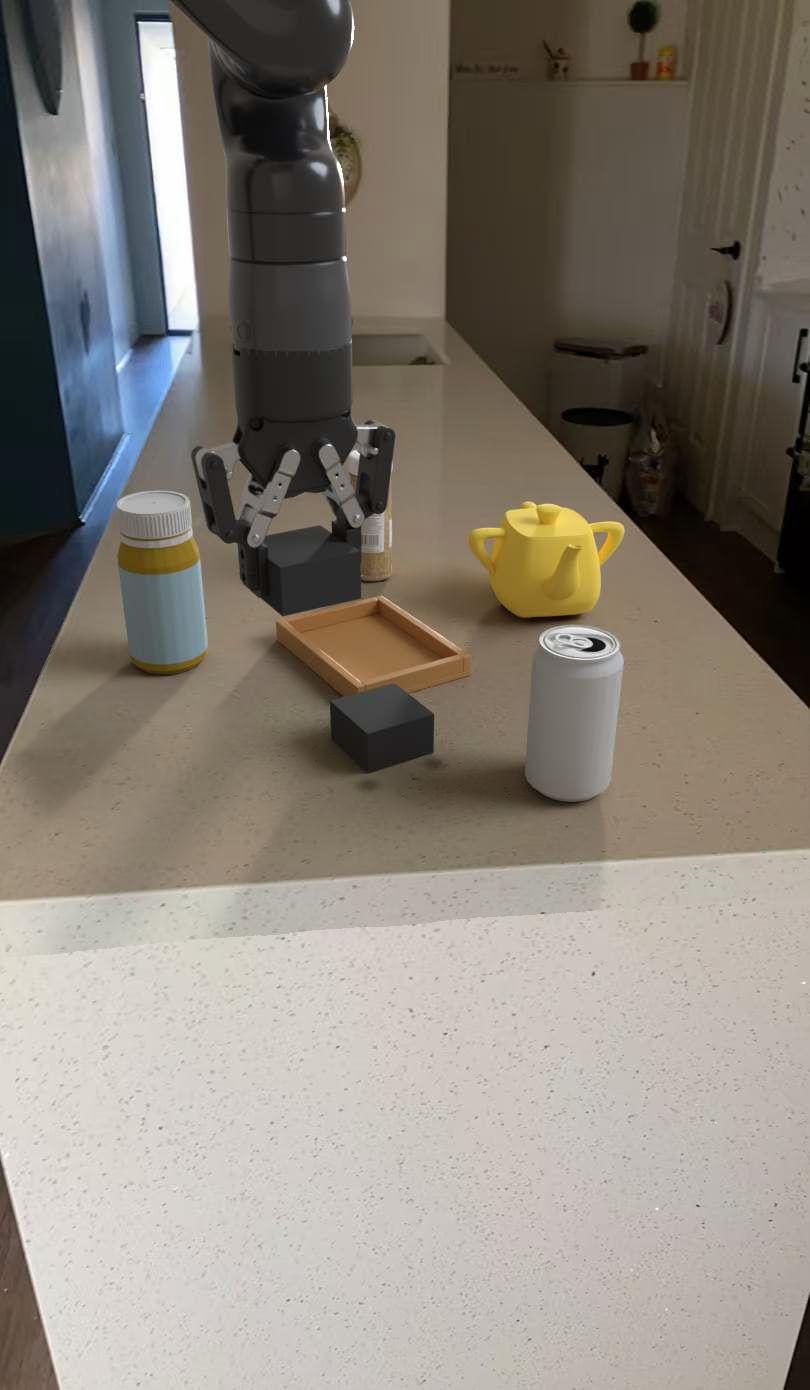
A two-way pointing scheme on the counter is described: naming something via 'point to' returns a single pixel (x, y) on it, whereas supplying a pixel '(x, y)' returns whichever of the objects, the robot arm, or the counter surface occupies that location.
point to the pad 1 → (311, 570)
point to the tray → (372, 647)
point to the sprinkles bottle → (374, 534)
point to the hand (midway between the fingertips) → (302, 582)
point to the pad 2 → (382, 727)
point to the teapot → (545, 559)
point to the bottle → (161, 582)
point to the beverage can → (573, 712)
